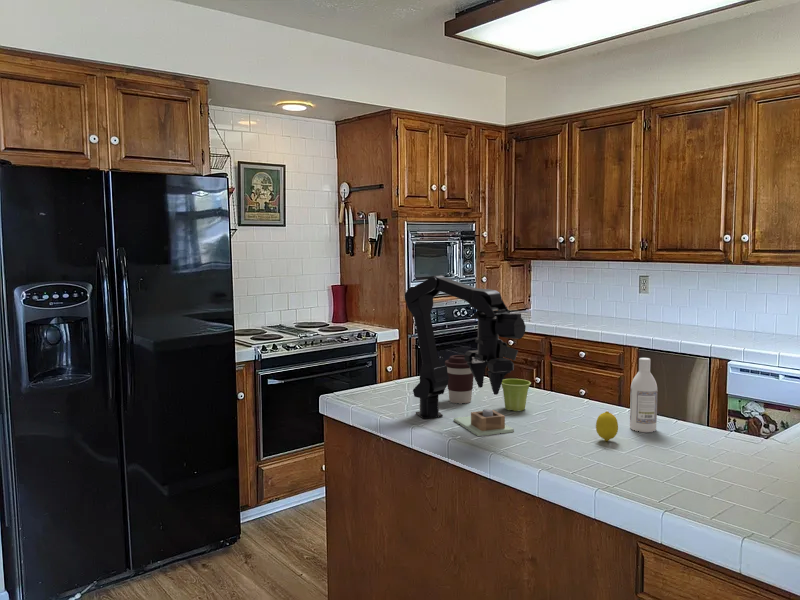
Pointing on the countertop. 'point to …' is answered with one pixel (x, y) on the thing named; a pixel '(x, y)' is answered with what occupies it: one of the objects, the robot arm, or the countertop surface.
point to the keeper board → (467, 424)
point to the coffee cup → (459, 379)
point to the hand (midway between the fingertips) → (488, 390)
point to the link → (487, 421)
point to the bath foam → (643, 399)
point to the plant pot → (515, 393)
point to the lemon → (607, 426)
